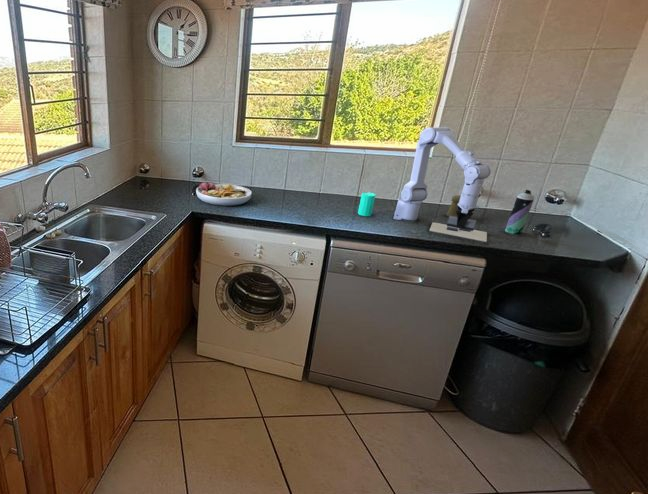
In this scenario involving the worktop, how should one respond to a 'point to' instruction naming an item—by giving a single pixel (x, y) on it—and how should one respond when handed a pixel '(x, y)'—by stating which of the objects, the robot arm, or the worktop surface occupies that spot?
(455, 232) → the memo board
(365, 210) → the candle
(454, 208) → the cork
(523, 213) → the spray can
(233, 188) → the bowl
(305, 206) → the worktop surface
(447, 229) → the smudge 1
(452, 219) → the eraser
